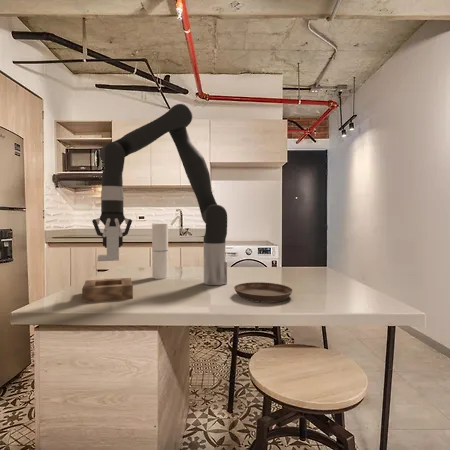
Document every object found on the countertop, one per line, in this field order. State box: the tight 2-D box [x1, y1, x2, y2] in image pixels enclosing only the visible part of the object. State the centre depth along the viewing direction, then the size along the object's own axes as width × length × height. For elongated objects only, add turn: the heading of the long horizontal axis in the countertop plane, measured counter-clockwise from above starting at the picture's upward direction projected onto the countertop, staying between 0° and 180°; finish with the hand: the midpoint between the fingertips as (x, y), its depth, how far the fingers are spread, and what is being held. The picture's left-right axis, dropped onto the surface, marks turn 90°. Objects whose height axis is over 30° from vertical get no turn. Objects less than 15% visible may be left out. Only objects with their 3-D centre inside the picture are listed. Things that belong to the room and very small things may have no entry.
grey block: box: [97, 226, 120, 262], centre depth 113 cm, size 7×6×12 cm
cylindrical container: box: [151, 222, 169, 280], centre depth 146 cm, size 7×7×25 cm
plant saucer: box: [233, 281, 294, 303], centre depth 112 cm, size 21×21×3 cm
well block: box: [81, 277, 134, 303], centre depth 113 cm, size 16×14×4 cm
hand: (112, 247), depth 113 cm, fingers closed on grey block, 4 cm apart
